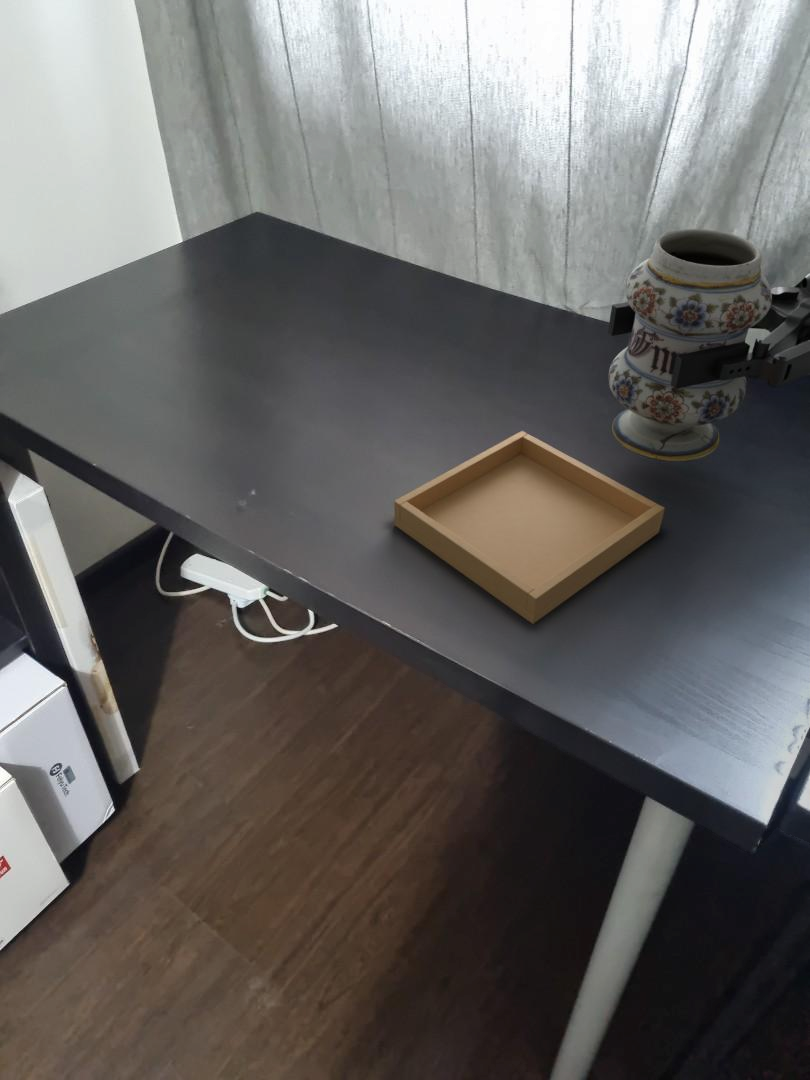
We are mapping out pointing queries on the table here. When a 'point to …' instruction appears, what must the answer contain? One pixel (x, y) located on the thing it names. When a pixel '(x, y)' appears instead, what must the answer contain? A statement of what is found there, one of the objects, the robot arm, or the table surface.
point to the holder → (528, 523)
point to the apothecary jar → (685, 340)
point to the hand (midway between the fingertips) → (642, 345)
